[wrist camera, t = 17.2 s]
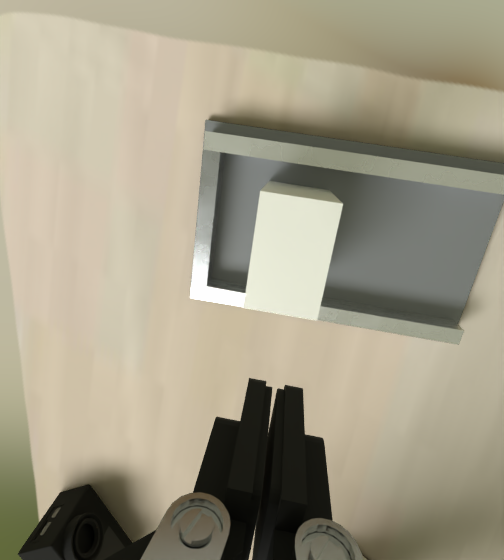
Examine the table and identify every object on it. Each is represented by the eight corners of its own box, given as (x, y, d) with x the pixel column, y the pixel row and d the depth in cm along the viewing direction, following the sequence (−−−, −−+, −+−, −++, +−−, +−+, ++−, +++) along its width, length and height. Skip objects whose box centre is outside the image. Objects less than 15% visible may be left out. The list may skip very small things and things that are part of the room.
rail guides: (505, 176, 25) (522, 177, 23) (448, 332, 30) (458, 344, 28) (211, 132, 26) (205, 130, 25) (196, 289, 31) (190, 298, 29)
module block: (329, 189, 27) (343, 203, 19) (311, 278, 29) (317, 320, 22) (269, 180, 27) (259, 190, 20) (255, 268, 30) (243, 307, 22)
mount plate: (512, 164, 26) (517, 165, 25) (448, 338, 30) (451, 342, 30) (207, 120, 27) (205, 119, 26) (191, 294, 32) (189, 296, 31)
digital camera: (144, 544, 43) (117, 615, 36) (107, 553, 44) (74, 623, 38) (98, 480, 40) (60, 544, 34) (60, 492, 42) (16, 555, 35)
